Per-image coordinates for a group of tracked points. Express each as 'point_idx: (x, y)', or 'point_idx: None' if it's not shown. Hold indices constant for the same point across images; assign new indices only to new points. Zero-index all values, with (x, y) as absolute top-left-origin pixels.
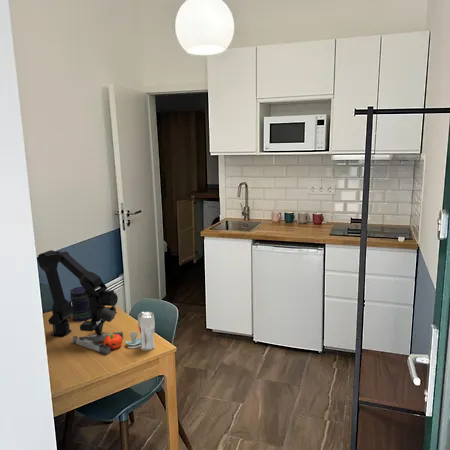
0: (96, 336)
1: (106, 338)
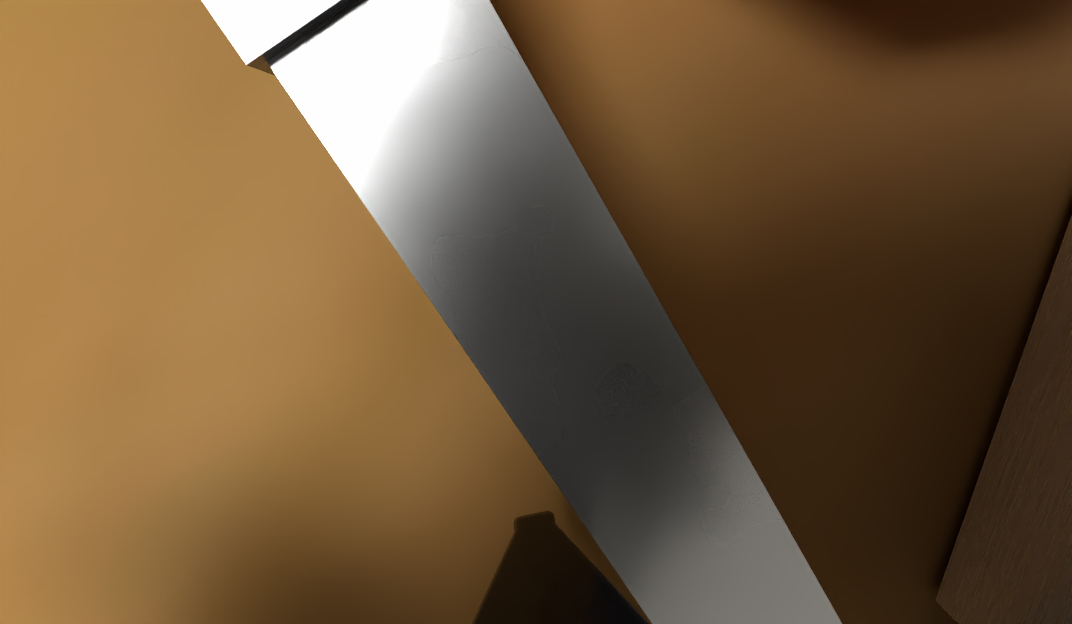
0: (802, 556)
1: None
